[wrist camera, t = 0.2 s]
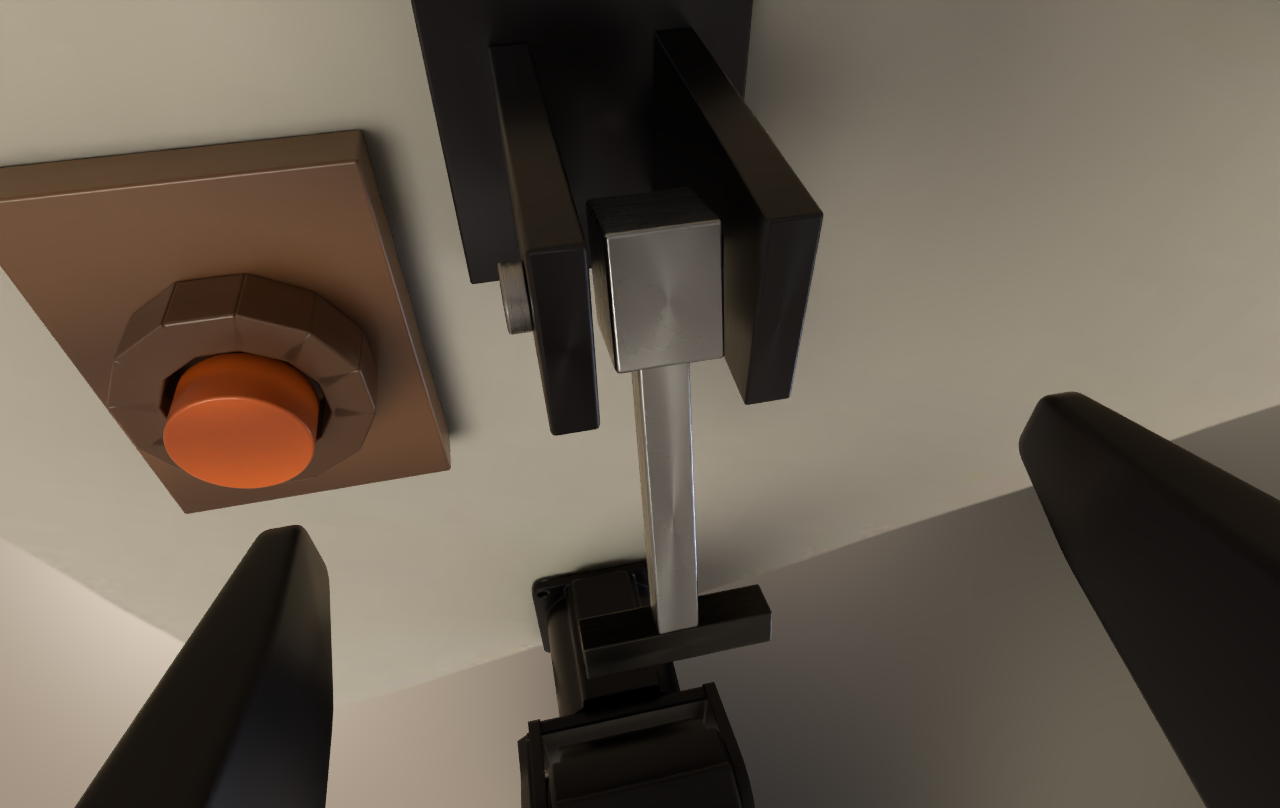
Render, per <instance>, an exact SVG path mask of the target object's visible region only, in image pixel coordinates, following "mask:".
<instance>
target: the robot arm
mask: <svg viewBox="0 0 1280 808" xmlns="http://www.w3.org/2000/svg"><path fill="white" fill-rule="evenodd" d="M1019 452H1020V456H1021V459H1022V461H1023V463H1024V466H1025V468H1026V470H1027V472H1028V475H1029V477H1030V479H1031V482H1032V484H1033V486H1034V489H1035V491H1036V493H1037V495H1038V498H1039V500H1040V502H1041V505H1042V507H1043V509H1044V512H1045V514H1046V516H1047V518H1048V521H1049V523H1050V525H1051V528H1052V530H1053V532H1054V535H1055V537H1056V539H1057V541H1058V543H1059V546H1060V548H1061V550H1062V552H1063V554H1064V556H1065V558H1066V560H1067V562H1068V564H1069V566H1070V568H1071V570H1072V572H1073V574H1074V575H1075V577H1076V579H1077V580H1078V582H1079V584H1080V586H1081V588H1082V589H1083V591H1084V593H1085V595H1086V597H1087V598H1088V600H1089V602H1090V603H1091V605H1092V607H1093V609H1094V611H1095V612H1096V614H1097V616H1098V617H1099V619H1100V621H1101V623H1102V625H1103V626H1104V628H1105V630H1106V632H1107V633H1108V635H1109V637H1110V639H1111V641H1112V642H1113V644H1114V646H1115V648H1116V649H1117V651H1118V653H1119V655H1120V656H1121V658H1122V660H1123V662H1124V664H1125V665H1126V667H1127V669H1128V671H1129V672H1130V674H1131V676H1132V677H1133V679H1134V681H1135V683H1136V685H1137V686H1138V688H1139V690H1140V691H1141V693H1142V695H1143V697H1144V699H1145V700H1146V702H1147V704H1148V706H1149V708H1150V709H1151V711H1152V713H1153V714H1154V716H1155V718H1156V720H1157V722H1158V723H1159V725H1160V727H1161V729H1162V730H1163V732H1164V734H1165V736H1166V738H1167V739H1168V741H1169V743H1170V745H1171V746H1172V748H1173V750H1174V752H1175V753H1176V755H1177V757H1178V759H1179V760H1180V762H1181V764H1182V766H1183V767H1184V769H1185V771H1186V773H1187V775H1188V776H1189V778H1190V780H1191V782H1192V783H1193V785H1194V787H1195V789H1196V790H1197V792H1198V794H1199V796H1200V797H1201V799H1202V801H1203V803H1204V805H1205V806H1206V808H1280V500H1278V499H1276V498H1274V497H1273V496H1271V495H1269V494H1267V493H1265V492H1263V491H1261V490H1260V489H1258V488H1256V487H1254V486H1252V485H1250V484H1248V483H1247V482H1244V481H1243V480H1241V479H1239V478H1237V477H1235V476H1233V475H1232V474H1230V473H1228V472H1226V471H1224V470H1222V469H1221V468H1219V467H1217V466H1215V465H1213V464H1211V463H1209V462H1208V461H1206V460H1204V459H1202V458H1200V457H1198V456H1196V455H1195V454H1193V453H1191V452H1189V451H1187V450H1185V449H1183V448H1182V447H1180V446H1178V445H1176V444H1174V443H1172V442H1170V441H1169V440H1167V439H1165V438H1163V437H1161V436H1159V435H1157V434H1156V433H1154V432H1152V431H1150V430H1148V429H1146V428H1144V427H1143V426H1141V425H1139V424H1137V423H1135V422H1133V421H1131V420H1130V419H1128V418H1126V417H1124V416H1122V415H1120V414H1118V413H1117V412H1115V411H1113V410H1111V409H1109V408H1107V407H1105V406H1104V405H1102V404H1100V403H1098V402H1096V401H1094V400H1092V399H1091V398H1089V397H1087V396H1085V395H1083V394H1081V393H1078V392H1064V393H1058V394H1052V395H1047V396H1045V397H1043V398H1042V399H1040V401H1039V402H1038V403H1037V405H1036V407H1035V409H1034V411H1033V413H1032V415H1031V417H1030V419H1029V421H1028V422H1027V424H1026V426H1025V428H1024V430H1023V432H1022V434H1021V436H1020V439H1019ZM532 596H533V601H534V605H535V610H536V614H537V619H538V623H539V628H540V632H541V637H542V641H543V646H544V650H545V651H546V652H549V653H551V657H552V665H553V672H554V679H555V686H556V694H557V701H558V708H559V716H560V717H558V718H553V719H548V720H544V721H540V719H539V720H534V721H530V722H528V727H529V733H527V735H526V736H524V737H523V738H522V739H520V740H519V741H518V752H519V762H520V772H521V808H755V806H754V800H753V795H752V790H751V786H750V781H749V777H748V774H747V770H746V767H745V764H744V761H743V758H742V755H741V752H740V749H739V747H738V744H737V741H736V739H735V736H734V733H733V731H732V728H731V725H730V723H729V720H728V717H727V715H726V712H725V710H724V707H723V704H722V701H721V699H720V696H719V694H718V691H717V688H716V685H715V683H714V682H711V683H706V684H703V686H702V687H697V688H693V689H688V690H683V691H680V688H679V684H678V680H677V676H676V672H675V668H674V664H673V662H668V663H663V664H658V665H653V666H649V667H644V668H639V669H634V670H630V671H625V672H620V673H615V674H611V675H606V676H601V677H596V678H591V679H588V678H587V673H586V667H585V661H584V655H583V650H582V643H581V637H580V630H579V624H578V621H579V620H580V619H585V618H590V617H595V616H600V615H605V614H610V613H615V612H620V611H625V610H630V609H635V608H640V607H645V606H650V592H649V580H648V568H647V562H641V563H636V564H631V565H626V566H620V567H615V568H610V569H604V570H599V571H594V572H589V573H583V574H578V575H573V576H568V577H562V578H557V579H552V580H547V581H541V582H538V583H536V584H534V585H533V586H532ZM332 721H333V677H332V648H331V619H330V590H329V577H328V572H327V568H326V565H325V563H324V561H323V559H322V557H321V556H320V554H319V552H318V550H317V549H316V547H315V545H314V543H313V541H312V540H311V538H310V536H309V534H308V533H307V531H306V530H305V529H304V528H303V527H302V526H300V525H292V526H286V527H280V528H274V529H269V530H266V531H264V532H262V533H261V534H260V535H259V536H258V537H257V538H256V540H255V541H254V543H253V544H252V546H251V547H250V549H249V550H248V552H247V553H246V555H245V556H244V557H243V559H242V560H241V562H240V563H239V565H238V566H237V568H236V569H235V571H234V572H233V574H232V575H231V577H230V578H229V580H228V581H227V583H226V584H225V586H224V587H223V589H222V590H221V592H220V593H219V594H218V596H217V597H216V599H215V600H214V602H213V603H212V605H211V606H210V608H209V609H208V611H207V612H206V614H205V615H204V617H203V618H202V620H201V621H200V623H199V624H198V626H197V627H196V629H195V630H194V631H193V633H192V634H191V636H190V637H189V639H188V640H187V642H186V643H185V645H184V646H183V648H182V649H181V651H180V652H179V654H178V655H177V657H176V658H175V660H174V661H173V663H172V664H171V666H170V667H169V669H168V670H167V671H166V673H165V675H164V676H163V678H162V679H161V680H160V682H159V683H158V685H157V686H156V688H155V689H154V691H153V692H152V694H151V695H150V697H149V698H148V700H147V701H146V703H145V704H144V706H143V707H142V708H141V710H140V711H139V713H138V714H137V716H136V717H135V719H134V720H133V722H132V723H131V725H130V727H129V728H128V729H127V731H126V732H125V734H124V735H123V737H122V738H121V740H120V741H119V743H118V744H117V746H116V747H115V748H114V750H113V751H112V753H111V754H110V756H109V757H108V759H107V760H106V762H105V763H104V765H103V766H102V768H101V769H100V771H99V772H98V774H97V775H96V777H95V778H94V780H93V781H92V783H91V784H90V785H89V787H88V788H87V790H86V792H85V793H84V794H83V796H82V797H81V799H80V801H79V802H78V803H77V805H76V806H75V808H325V804H326V793H327V781H328V770H329V759H330V747H331V736H332Z"/></svg>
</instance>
